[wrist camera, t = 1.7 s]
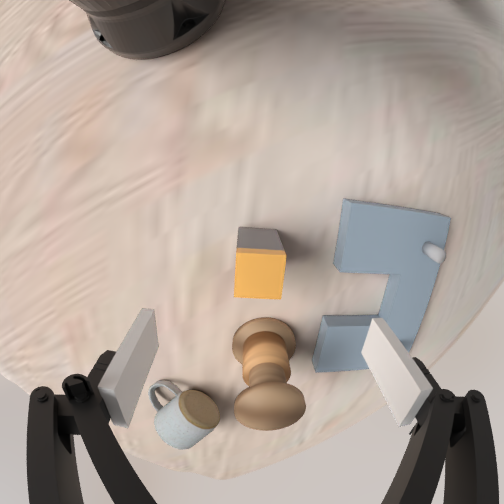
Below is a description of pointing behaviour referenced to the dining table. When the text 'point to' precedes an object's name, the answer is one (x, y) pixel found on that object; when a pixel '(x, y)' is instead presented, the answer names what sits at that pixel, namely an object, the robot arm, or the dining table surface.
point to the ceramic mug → (184, 416)
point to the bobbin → (266, 375)
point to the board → (383, 262)
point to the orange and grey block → (259, 264)
